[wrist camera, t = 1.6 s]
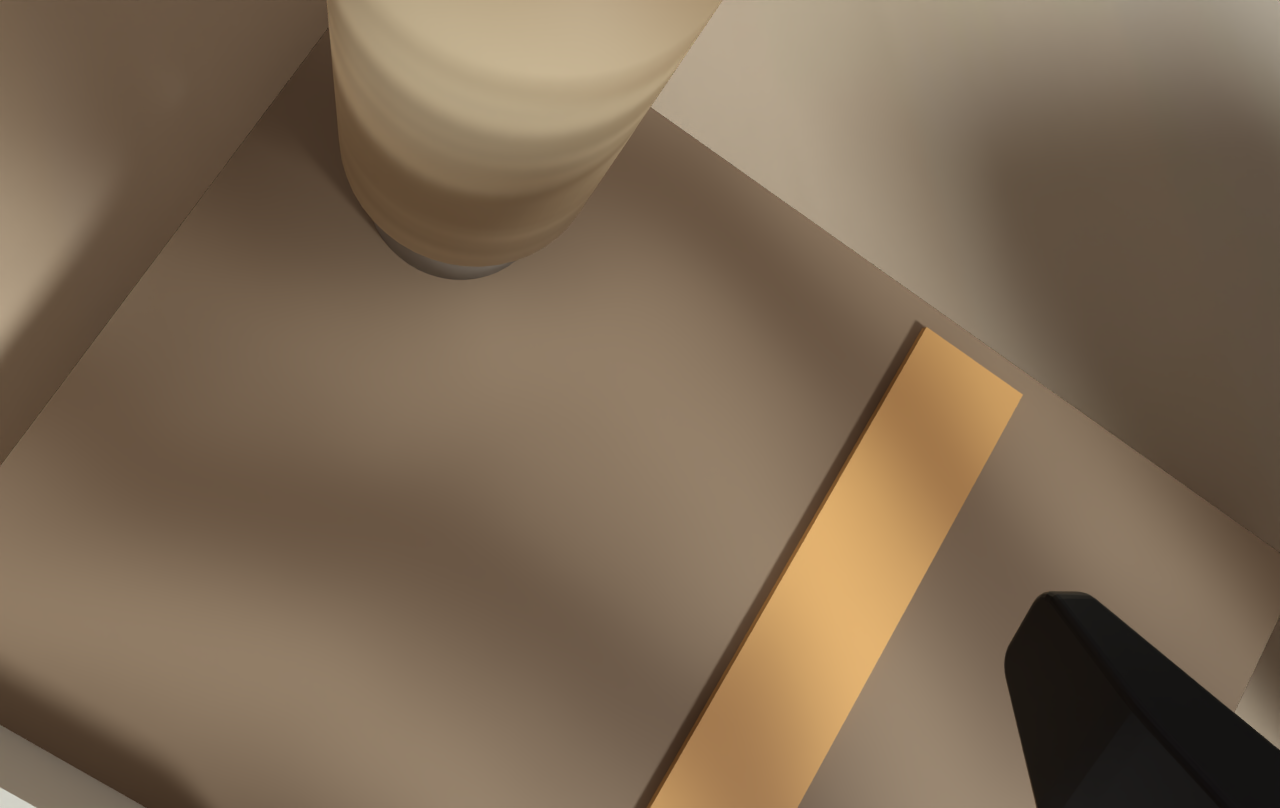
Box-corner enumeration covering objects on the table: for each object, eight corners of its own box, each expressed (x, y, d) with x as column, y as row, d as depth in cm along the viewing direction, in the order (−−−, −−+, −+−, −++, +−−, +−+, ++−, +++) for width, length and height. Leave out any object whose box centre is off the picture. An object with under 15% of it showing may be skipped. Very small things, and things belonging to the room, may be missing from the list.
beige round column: (490, 344, 21) (614, 162, 10) (298, 218, 20) (215, -114, 10) (607, 169, 22) (835, -171, 11) (425, 41, 21) (478, -445, 10)
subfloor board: (804, 1488, 22) (841, 1568, 20) (-300, 909, 19) (-366, 947, 17) (1249, 565, 26) (1309, 569, 24) (399, -32, 23) (401, -75, 21)
